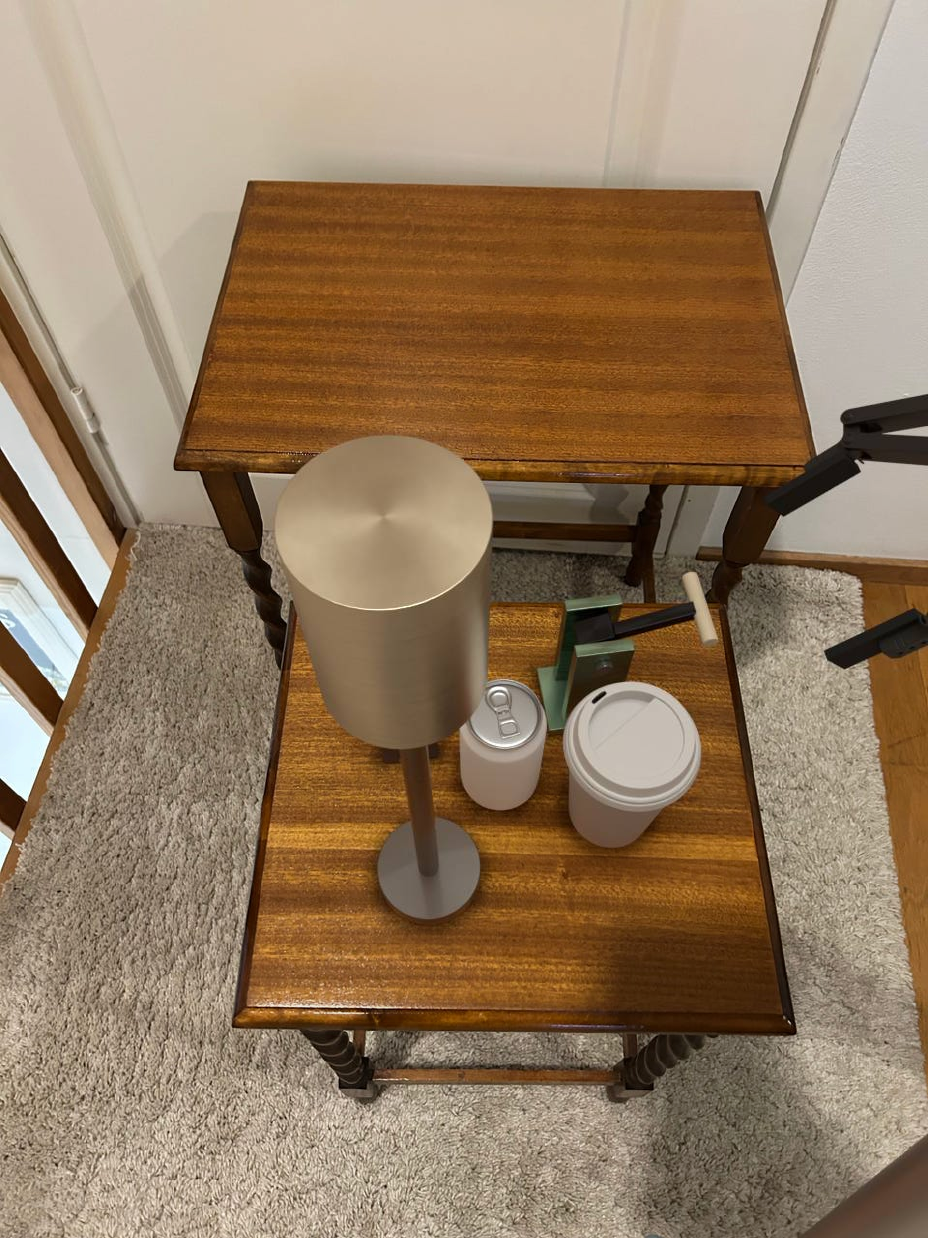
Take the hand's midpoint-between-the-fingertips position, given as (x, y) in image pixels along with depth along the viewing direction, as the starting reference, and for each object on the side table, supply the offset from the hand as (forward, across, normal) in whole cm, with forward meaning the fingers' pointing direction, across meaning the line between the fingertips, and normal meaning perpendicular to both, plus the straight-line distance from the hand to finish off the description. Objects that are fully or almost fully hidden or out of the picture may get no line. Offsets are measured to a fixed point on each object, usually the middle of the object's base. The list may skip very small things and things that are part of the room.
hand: (801, 580), depth 69 cm
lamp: (+32, -13, +10) cm, 36 cm away
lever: (+11, 0, +4) cm, 12 cm away
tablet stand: (+32, 0, +10) cm, 34 cm away
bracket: (+22, 0, -1) cm, 22 cm away
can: (+28, -6, +5) cm, 29 cm away
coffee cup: (+22, -10, -1) cm, 24 cm away
